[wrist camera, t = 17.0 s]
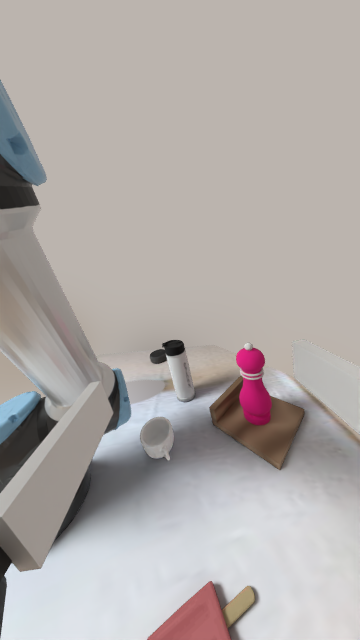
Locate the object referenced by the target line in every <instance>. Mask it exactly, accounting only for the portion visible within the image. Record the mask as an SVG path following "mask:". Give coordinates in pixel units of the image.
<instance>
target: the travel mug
mask: <svg viewBox="0 0 360 640" xmlns="http://www.w3.org/2000/svg"><path fill="white" fill-rule="evenodd" d="M162 345H163V346H164V348H165V353H166V357H167V361H168V365H169V368H170V372H171V376H172V380H173V384H174V387H175V391H176V395H177V398H178V400H179V401H181V402H187V401H190V400H192V399H193V398H194V396H195V390H194V386H193V382H192V377H191V373H190V369H189V364H188V360H187V356H186V351H185V348H184V343H183V342H182V341H180V340H171V341H168V342H166V343H163V344H162ZM163 346H162V347H163Z"/></svg>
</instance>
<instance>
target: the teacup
mask: <svg viewBox="0 0 360 640" xmlns="http://www.w3.org/2000/svg"><path fill="white" fill-rule="evenodd" d="M140 440H141V443H142V446H143V448H144V450H145V452H146V453H147V455H149V456H150V457H152V458H156V459H158V458H162V457H165V458H166V459H167V460H168V461H169V460H170V456H169V451H170V450H171V448H172V446H173V441H174V434H173V429H172V425H171V423H170V421H169V420H168V419H166V418H164V417H156V418H153V419H151V420H149V421H148V422H147V423H146V424H145V425H144V426H143V428H142V430H141V433H140Z"/></svg>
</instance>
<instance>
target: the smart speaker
mask: <svg viewBox="0 0 360 640" xmlns="http://www.w3.org/2000/svg"><path fill="white" fill-rule="evenodd" d="M150 359H151V362H152V363H161V362H163V361H165V360H166V359H167V357H166V353H165V350H163V349H160V350H156V351H154V352H152V353H151V354H150Z"/></svg>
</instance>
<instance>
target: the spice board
mask: <svg viewBox="0 0 360 640" xmlns="http://www.w3.org/2000/svg"><path fill="white" fill-rule="evenodd" d="M242 387H243V377H242V376H240V377H239V378H238V379H237V380H236V381H235V382H234V383H233V384H232V385H231V386H230V387H229V388H228V389H227V390H226V391H225V392H224V393H223V394H222V395H221V396H220V397H219V398H218V399H217V400H216V401H215V402H214V403H213V404H212V405H211V406H210V407H209V408H210V412H211V417H212V422H213V425H215V426H216V427H218V428H219V429H221V430H222V431H224V432H225V433H227V434H228V435H229V436H231V437H232V438H234V439H235V440H237V441H238V442H240V443H241V444H243V445H244V446H245V447H247V448H248V449H250V450H251V451H253V452H254V453H256V454H257V455H258V456H260V457H261V458H263V459H264V460H266V461H267V462H269V463H270V464H272V465H273V466H274V467H276V468H277V469H279V470H280V469H281V466H282V464H283V462H284V460H285V457H286V455H287V453H288V451H289V448H290V446H291V444H292V441H293V439H294V437H295V435H296V432H297V430H298V428H299V425H300V423H301V421H302V419H303V416H304V409H302V408H300V407H297V406H295V405H292V404H290V403H287V402H285V401H282V400H279V399H277V398H274V397H272V396H270V398H271V402H272V407H271V409H270V414H271V419H270V421H269V422H268V423H267V424H265V425H254V424H252V423H250V422H249V421H247V420H246V418H245V417H244V413H243V408H242V406H241V404H240V398H239V396H240V391H241V389H242Z"/></svg>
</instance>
